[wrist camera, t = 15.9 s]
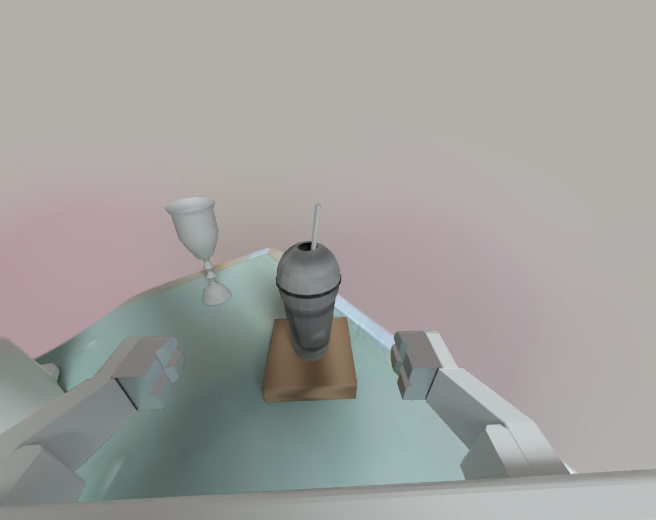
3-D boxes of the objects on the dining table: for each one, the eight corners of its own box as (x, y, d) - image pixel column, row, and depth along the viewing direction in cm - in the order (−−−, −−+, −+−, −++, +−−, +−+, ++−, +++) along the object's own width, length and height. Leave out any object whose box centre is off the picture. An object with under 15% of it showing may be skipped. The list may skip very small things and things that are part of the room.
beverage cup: (295, 323, 38) (284, 190, 27) (343, 332, 36) (350, 195, 26) (275, 364, 32) (251, 213, 21) (331, 377, 30) (335, 221, 20)
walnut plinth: (265, 402, 31) (262, 387, 29) (277, 333, 40) (275, 319, 38) (355, 398, 31) (357, 383, 29) (345, 331, 40) (346, 317, 39)
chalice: (229, 309, 45) (204, 212, 35) (190, 310, 44) (154, 213, 35) (240, 284, 51) (221, 197, 41) (205, 285, 51) (179, 197, 41)
